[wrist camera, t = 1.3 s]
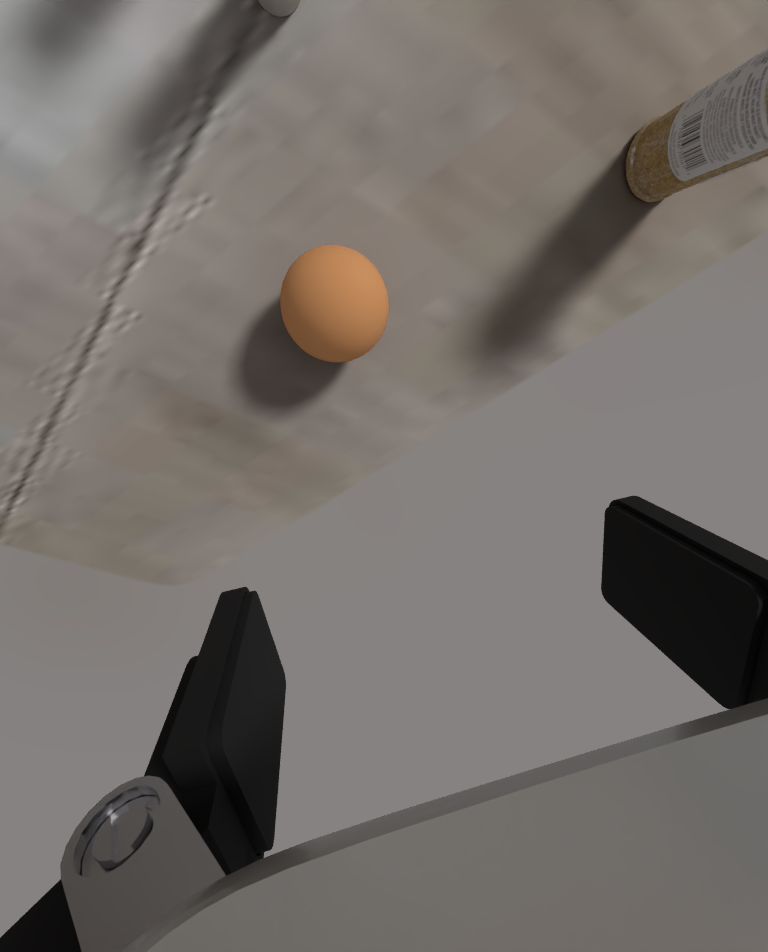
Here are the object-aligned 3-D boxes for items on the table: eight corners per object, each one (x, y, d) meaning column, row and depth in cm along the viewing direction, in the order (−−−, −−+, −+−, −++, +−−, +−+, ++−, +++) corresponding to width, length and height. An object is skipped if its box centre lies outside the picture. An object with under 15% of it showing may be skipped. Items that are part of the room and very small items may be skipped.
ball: (295, 366, 25) (291, 374, 20) (273, 263, 23) (262, 240, 18) (385, 351, 26) (405, 356, 21) (371, 250, 24) (390, 225, 18)
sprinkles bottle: (679, 200, 26) (1012, 79, 14) (617, 206, 26) (907, 85, 13) (690, 115, 25) (1078, -109, 12) (625, 119, 24) (962, -112, 12)
